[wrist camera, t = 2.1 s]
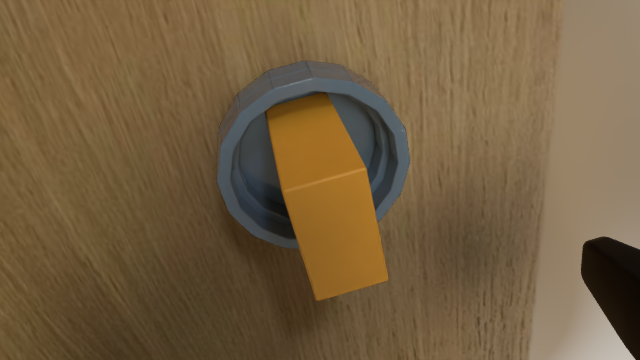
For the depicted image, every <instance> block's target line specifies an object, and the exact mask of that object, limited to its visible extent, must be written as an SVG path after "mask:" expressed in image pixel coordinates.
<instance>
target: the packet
mask: <svg viewBox="0 0 640 360" xmlns="http://www.w3.org/2000/svg"><path fill="white" fill-rule="evenodd" d="M265 115H266V120H267V124H268V129H269V134H270V139H271V143H272V148H273V153H274V158H275V162H276V167H277V172H278V177H279V181H280V186H281V191H282V195H283V198H284V201H285V204H286V207H287V211H288V214H289V217H290V220H291V223H292V226H293V230H294V233H295V236H296V239H297V242H298V245H299V249H300V252H301V255H302V258H303V261H304V264H305V268H306V271H307V274H308V277H309V280H310V283H311V287H312V290H313V293H314V296H315V299H316V300H317V301H321V300H324V299H328V298H331V297H334V296H338V295H341V294H345V293H348V292H351V291H355V290H358V289H361V288H365V287H368V286H372V285H375V284H378V283H382V282H385V281H387V280H388V273H387V268H386V263H385V258H384V253H383V248H382V243H381V238H380V233H379V228H378V223H377V218H376V213H375V208H374V203H373V198H372V193H371V188H370V183H369V178H368V173H367V168H366V166H365V165H364V163H363V161H362V159H361V157H360V155H359V153H358V151H357V149H356V147H355V145H354V144H353V142H352V140H351V138H350V136H349V134H348V132H347V130H346V128H345V126H344V125H343V123H342V121H341V119H340V117H339V115H338V113H337V111H336V109H335V107H334V105H333V104H332V102H331V100H330V98H329V96H328V94H327V93H326V92H321V93H317V94H313V95H310V96H306V97H303V98H299V99H296V100H292V101H288V102H285V103H281V104H278V105H274V106H271V107H270V108H269V109H267V110H266V111H265Z"/></svg>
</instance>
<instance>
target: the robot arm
mask: <svg viewBox="0 0 640 360" xmlns="http://www.w3.org/2000/svg"><path fill="white" fill-rule="evenodd" d="M581 275H582V278H583V280H584V282H585V284H586V286H587V287H588V289H589V290H590V292H591V293H592V295H593V297H594V298H595V300H596V301H597V303H598V304H599V306H600V308H601V309H602V311H603V312H604V314H605V315H606V317H607V318H608V320H609V322H610V323H611V325H612V326H613V328H614V329H615V331H616V333H617V334H618V336H619V337H620V339H621V340H622V342H623V343H624V345H625V346H626V348H627V349H628V350H629V351H630V353H631V354H632V356H633V357H634V358H635V359H636V360H640V250H639V249H637V248H634V247H632V246H629V245H627V244H624V243H622V242H619V241H617V240H614V239H611V238H609V237H599V238H596V239H592V240H589V241H586V242H585V243H584V245H583V251H582V264H581Z"/></svg>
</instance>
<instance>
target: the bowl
mask: <svg viewBox="0 0 640 360" xmlns="http://www.w3.org/2000/svg"><path fill="white" fill-rule="evenodd" d="M321 92H326V93H327V94H328V96H329V98H330V100H331V102H332V104H333V105H334V107H335V109H336V111H337V113H338V115H339V117H340V119H341V121H342V123H343V125H344V126H345V128H346V130H347V132H348V134H349V136H350V138H351V140H352V142H353V144H354V145H355V147H356V149H357V151H358V153H359V155H360V157H361V159H362V161H363V163H364V165H365V166H366V168H367V173H368V178H369V183H370V188H371V193H372V198H373V203H374V208H375V213H376V218H377V222H379V221H380V220H381V219H382V218H383V216H384V215H385V214H386V213H387V211H388V210H389V209H390V207H391V206H392V205H393V203H394V202H395V201H396V199H397V198H398V197H399V195H400V194H401V192H402V188H403V185H404V181H405V178H406V175H407V171H408V168H409V164H410V156H409V149H408V142H407V135H406V130H405V127H404V126H403V124H402V123H401V121H400V120H399V118H398V117H397V115H396V114H395V112H394V111H393V109H392V108H391V106H390V105H389V104H388V102H387V101H386V99H385V98H384V97H383V96H382V94H381V93H380V92H379V91H378V89H377V88H376V87H375V85H373V83H372V82H371V81H369V80H367V79H366V78H364V77H362V76H360V75H359V74H357V73H355V72H354V71H352V70H350V69H349V68H347V67H345V66H343V65H339V64H331V63H322V62H314V61H301V62H297V63H294V64H290V65H286V66H283V67H279V68H276V69H272V70H269V71H268V72H265V73H264V74H263V75H261V76H260V77H259V78H257V79H256V80H255V81H254V82H252V83H251V84H250V85H248V86H247V87H246V88H244V89H243V90H242V91H241V92H239V93H238V95H237V96H236V97H235V99H234V101H233V103H232V104H231V106H230V108H229V110H228V111H227V113H226V115H225V117H224V118H223V120H222V122H221V125H220V127H219V137H218V149H217V184H218V187H219V189H220V192H221V194H222V197H223V199H224V202H225V204H226V207H227V209H228V212H229V213H230V215H232V216H233V217H234V218H235V219H236V220H237V221H238V222H239V223H240V224H241V225H242V226H243V227H244V228H245V229H246V230H247V231H248V232H250V233H251V234H252V235H254V236H255V237H257V238H260V239H262V240H265V241H267V242H270V243H273V244H275V245H278V246H280V247H283V248H284V247H285V248H298V249H299V245H298V242H297V239H296V236H295V233H294V230H293V226H292V223H291V220H290V217H289V214H288V211H287V207H286V204H285V201H284V198H283V195H282V191H281V186H280V181H279V177H278V172H277V167H276V162H275V158H274V153H273V148H272V143H271V139H270V134H269V129H268V124H267V120H266V115H265V111H266V110H267V109H269V108H270V107H271V106H274V105H278V104H281V103H285V102H288V101H292V100H296V99H299V98H303V97H306V96H310V95H313V94H317V93H321Z"/></svg>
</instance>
